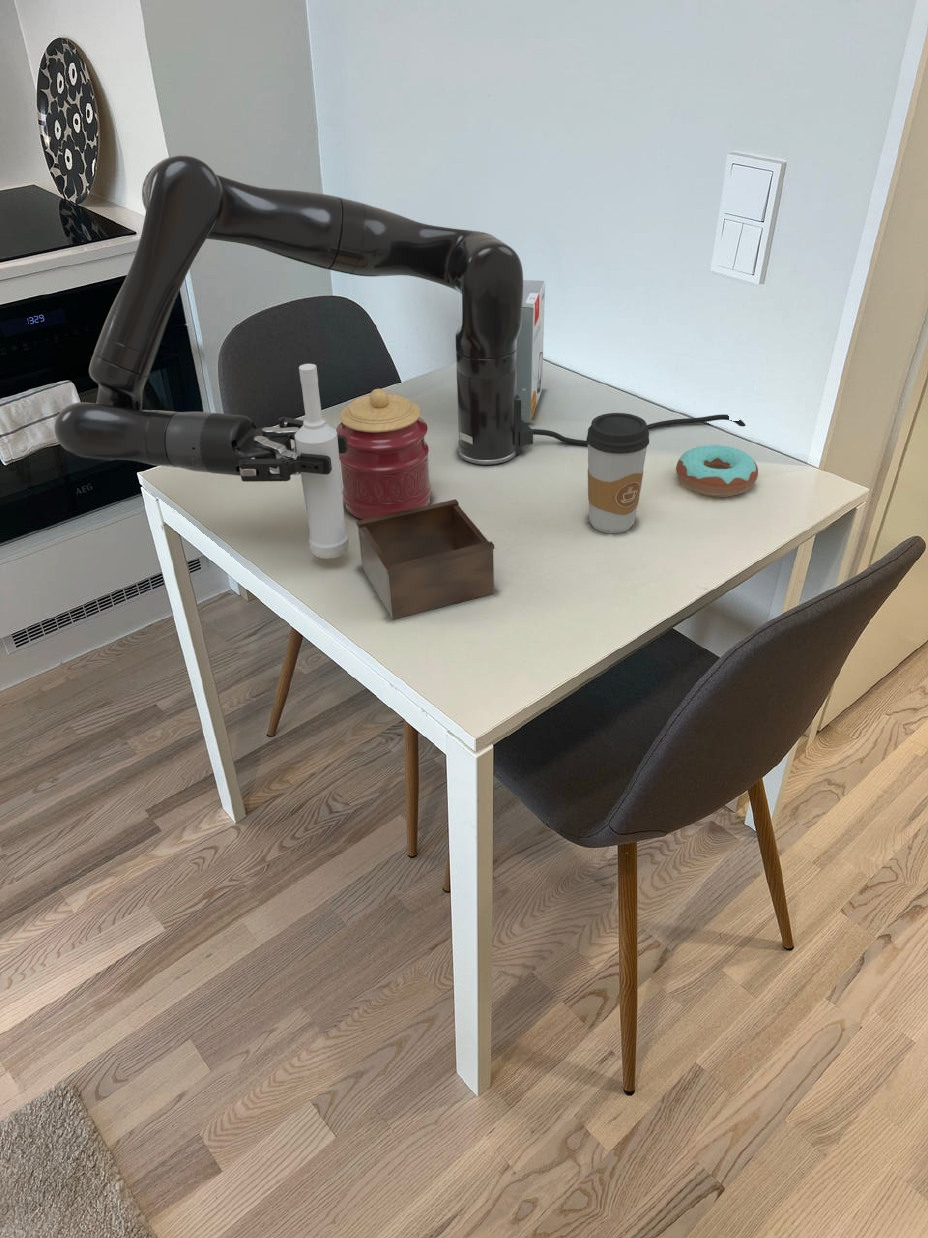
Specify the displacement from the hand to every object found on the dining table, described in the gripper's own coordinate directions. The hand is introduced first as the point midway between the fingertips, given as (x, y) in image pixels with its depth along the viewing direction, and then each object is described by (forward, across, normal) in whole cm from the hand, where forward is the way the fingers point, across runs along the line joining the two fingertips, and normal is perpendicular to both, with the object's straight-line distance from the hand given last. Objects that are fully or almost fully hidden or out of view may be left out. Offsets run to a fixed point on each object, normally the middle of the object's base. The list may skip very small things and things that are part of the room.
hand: (338, 454), depth 115 cm
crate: (+11, -2, +16) cm, 20 cm away
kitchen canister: (0, +18, +17) cm, 24 cm away
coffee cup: (+33, +18, +16) cm, 41 cm away
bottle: (-3, 0, +14) cm, 14 cm away
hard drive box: (+12, +56, +16) cm, 59 cm away
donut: (+47, +33, +16) cm, 59 cm away
